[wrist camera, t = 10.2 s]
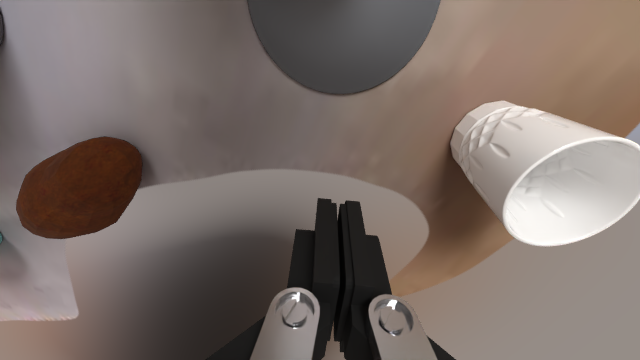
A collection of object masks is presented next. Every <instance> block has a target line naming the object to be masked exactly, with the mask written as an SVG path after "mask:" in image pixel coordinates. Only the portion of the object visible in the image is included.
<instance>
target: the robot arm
mask: <svg viewBox="0 0 640 360" xmlns="http://www.w3.org/2000/svg"><path fill="white" fill-rule="evenodd" d="M333 320H334V341H338V342H340V352H344V357H345V359H346V360H456V359H454V358H453V357H452V356H451V355H449V354H448V353H447V352H446V351H445V350H443V349H442V348H441V347H440V346H439V345H437V344H436V343H435V342H434V341H433V340H431V339H430V338H429V337H428V336H427V335H426V333H425V331H424V329H423V327H422V325H421V322H420V320H419V318H418V316H417V314H416V312H415V311H414V309H413V308H412V307H411V306H410V305H409V304H408V303H407V302H406V301H405V300H403V299H402V298H400V297H397V296H394V295H392V293H391V288H390V284H389V280H388V276H387V272H386V268H385V263H384V259H383V255H382V250H381V246H380V242H379V239H378V237H377V236H373V235H366V234H365V229H364V223H363V217H362V211H361V206H360V202H357V201H346V202H345V204H340V207H339V214H338V221H337V205H336V203H331V199H321V198H318V203H317V213H316V223H315V231H311V230H297V229H296V233H295V240H294V246H293V253H292V260H291V266H290V273H289V279H288V286H287V289H285V290H283V291H281V292H279V293H278V294H277V295H276V296H275V297H274V299H273V301H272V302H271V304H270V307H269V310H268V312H267V315H266V316H265V317H263V318H262V319H261V320H259V321H258V322H257V323H255V324H254V325H253V326H251V327H250V328H248V329H247V330H246V331H244V332H243V333H242V334H240V335H239V336H237V337H236V338H235V339H233V340H232V341H231V342H229V343H228V344H226V345H225V346H224V347H222V348H221V349H220V350H218V351H217V352H215V353H214V354H213V355H211V356H210V357H209V358H207V359H206V360H321V359H322V358H323V357H324V355H325V350H326V344H327V341H330V336H331V331H332V326H333Z"/></svg>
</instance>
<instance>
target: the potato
mask: <svg viewBox="0 0 640 360" xmlns="http://www.w3.org/2000/svg"><path fill="white" fill-rule="evenodd" d="M141 178H142V159H141V154H140V153H139V152H138V150H137V149H136V147H134V146H133V145H131V144H130V143H128V142H126V141H124V140H120V139H117V138H112V137H106V136H105V137H99V138H93V139H89V140H86V141H83V142H80V143H77V144H75V145H73V146H71V147H69V148H68V149H66V150H63V151H61V152H59V153H57V154H55V155H53V156H51V157H49V158H48V159H46V160H44V161H42V162H41V163H39V164H38V165H36V166H35V167H34V168H33V169H32V170H31V171H30V172H29V173H28V174H27V175H26V176H25V179H24V181H23V183H22V186H21V189H20V192H19V195H18V199H17V203H16V211H17V213H18V216H19V218H20V221H21V224H22V226H23V227H24V228H26V229H27V230H29V231H30V232H31V233H33V234H35V235H38V236H42V237H45V238H52V239H65V238H72V237H76V236H81V235H86V234H90V233H95V232H98V231H100V230H102V229H104V228H106V227H108V226H110V225H112V224H114V223H116V222H117V221H118V219H119V218H120V216H121V215H122V213H123V212H124V211H125V209H126V208H127V206H128V205H129V203H130V202H131V200H132V199H133V197H134V195H135V193H136V191H137V189H138V187H139V184H140V182H141Z"/></svg>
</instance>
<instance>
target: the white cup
mask: <svg viewBox="0 0 640 360" xmlns="http://www.w3.org/2000/svg"><path fill="white" fill-rule="evenodd" d="M450 145H451V150H452V155H453V158H454V159H455V161H456V162H457V163H458V164H459V166H460V167H461V168H462V169H463V171H464V173H465V175H466V177H467V178H468V180H469V181H470V182H471V184H472V185H473V187H474V188H475V189H476V191H477V192H478V193H479V195H480V196H481V197H482V199H483V200H484V201H485V202H486V204H487V205H488V206H489V207H490V209H491V210H492V211H493V213H494V214H495V215H496V217H497V218H498V219H499V220H500V222H501V223H502V224H503V226H504V227H505V228H506V230H507V231H508V232H509V233H510V234H511V235H512V236H513V237H514V238H516V239H517V240H519V241H521V242H523V243H526V244H530V245H535V246H558V245H565V244H569V243H573V242H577V241H579V240H583V239H586V238H588V237H590V236H593V235H595V234H597V233H599V232H601V231H603V230H604V229H606V228H608V227H609V226H611V225H613V224H614V223H615V222H617V221H618V220H619V219H621V218H622V217H623V216H624V215H626V214H627V213H628V212H629V211H630V210H631V209H632V207H634V205H635V204H636V203H637V202H638V201H639V199H640V145H638V144H637V143H635V142H633V141H630V140H628V139H625V138H622V137H619V136H616V135H613V134H610V133H607V132H604V131H601V130H598V129H595V128H592V127H589V126H586V125H583V124H580V123H577V122H574V121H571V120H568V119H565V118H562V117H559V116H556V115H554V114H551V113H548V112H543V111H540V110H537V109H534V108H526V107H522V106H520V105H516V104H513V103H510V102H507V101H497V102H490V103H485V104H483V105H481V106H479V107H477V108H476V109H474V110H472V111H471V112H469V113H467V114H466V115H465V117H464V118H463V119H462V120H461V121H460V123H459V124H458V125H457V126H456V127H455V130H454V133H453V136H452V139H451V142H450Z"/></svg>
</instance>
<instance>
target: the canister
mask: <svg viewBox="0 0 640 360" xmlns="http://www.w3.org/2000/svg"><path fill="white" fill-rule="evenodd" d="M2 37H3V23H2V17H1V14H0V45H1V42H2Z"/></svg>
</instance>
